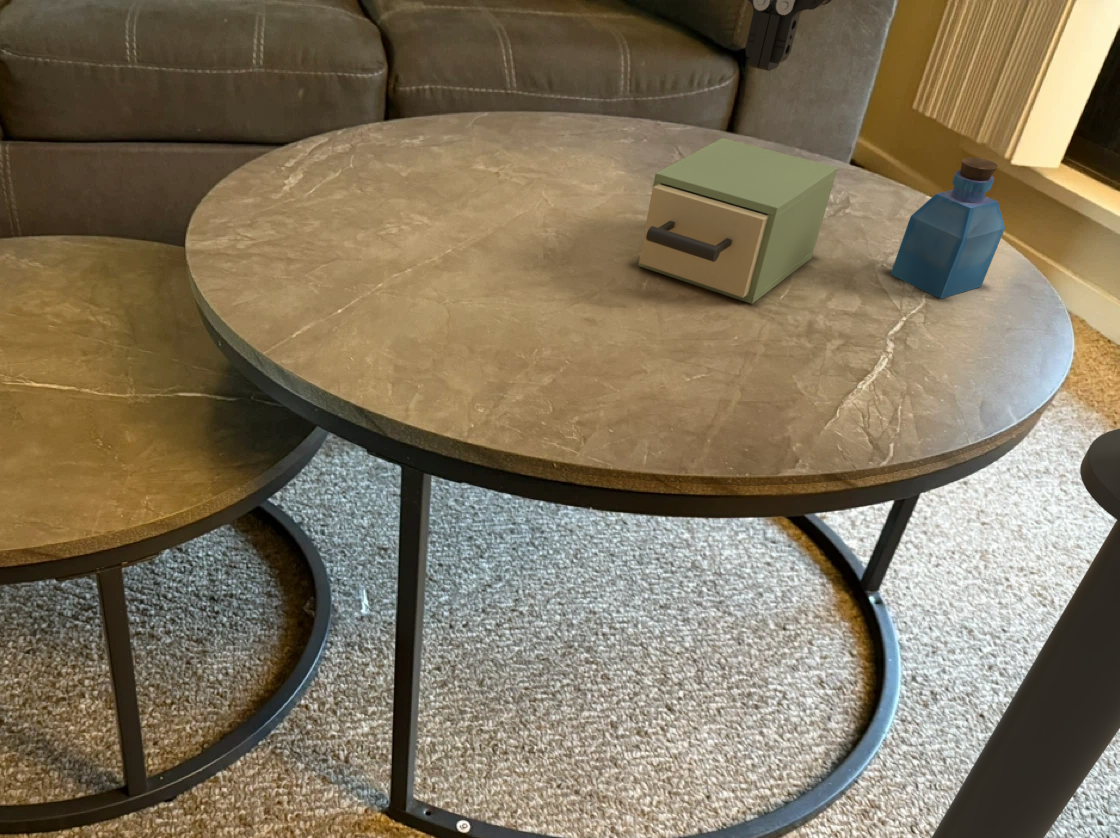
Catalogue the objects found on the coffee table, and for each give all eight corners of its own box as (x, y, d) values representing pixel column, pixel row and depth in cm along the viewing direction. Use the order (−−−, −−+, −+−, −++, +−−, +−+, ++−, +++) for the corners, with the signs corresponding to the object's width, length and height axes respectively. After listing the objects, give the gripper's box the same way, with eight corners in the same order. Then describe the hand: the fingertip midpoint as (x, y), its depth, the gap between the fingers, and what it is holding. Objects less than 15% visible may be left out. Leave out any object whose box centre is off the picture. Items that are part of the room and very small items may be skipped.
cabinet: (752, 304, 102) (777, 208, 96) (637, 265, 108) (655, 173, 102) (811, 258, 111) (838, 167, 105) (703, 225, 117) (722, 137, 111)
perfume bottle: (940, 298, 105) (986, 179, 97) (890, 274, 109) (931, 157, 101) (981, 286, 107) (1029, 169, 100) (930, 263, 111) (973, 148, 104)
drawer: (723, 312, 99) (743, 232, 94) (617, 276, 104) (631, 198, 99) (799, 255, 110) (821, 180, 105) (700, 224, 115) (716, 152, 110)
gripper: (709, -235, 66) (657, 58, 77) (921, -219, 60) (832, 98, 71) (760, -237, 71) (704, 40, 82) (962, -223, 65) (872, 76, 75)
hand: (764, 66), depth 76 cm, fingers closed
